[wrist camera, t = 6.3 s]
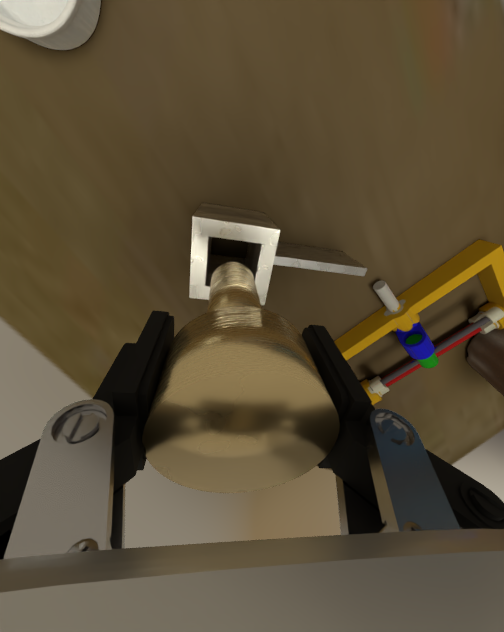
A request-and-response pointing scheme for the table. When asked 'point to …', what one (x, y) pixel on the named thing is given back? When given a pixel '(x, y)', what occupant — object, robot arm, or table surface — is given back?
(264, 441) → the wooden bell shape
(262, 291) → the white corner connector
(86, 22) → the ramekin
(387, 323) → the mechanical clamp
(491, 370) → the plant pot
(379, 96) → the table surface
